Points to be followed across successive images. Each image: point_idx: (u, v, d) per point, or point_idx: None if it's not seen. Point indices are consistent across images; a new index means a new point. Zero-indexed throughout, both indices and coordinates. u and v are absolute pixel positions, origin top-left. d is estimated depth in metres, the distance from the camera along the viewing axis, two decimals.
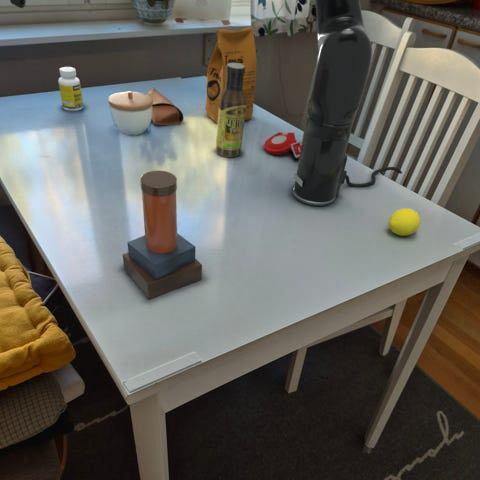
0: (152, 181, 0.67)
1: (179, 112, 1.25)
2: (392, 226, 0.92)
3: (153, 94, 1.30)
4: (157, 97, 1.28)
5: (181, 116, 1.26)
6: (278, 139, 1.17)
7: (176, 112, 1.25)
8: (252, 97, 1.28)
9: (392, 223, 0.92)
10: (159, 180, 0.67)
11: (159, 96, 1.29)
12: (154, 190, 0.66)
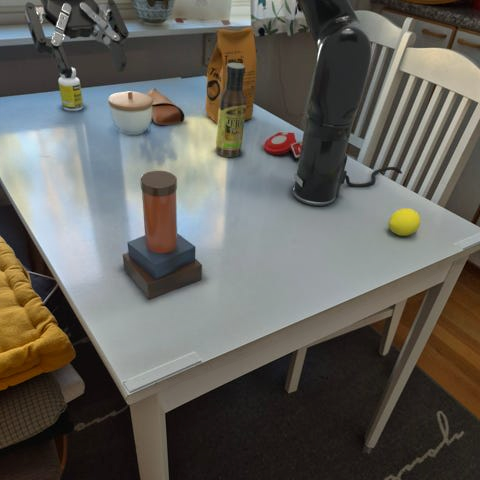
0: (152, 181, 0.67)
1: (180, 112, 1.25)
2: (392, 226, 0.92)
3: (154, 94, 1.30)
4: (158, 97, 1.29)
5: (182, 116, 1.26)
6: (278, 139, 1.17)
7: (177, 112, 1.25)
8: (252, 97, 1.28)
9: (392, 223, 0.92)
10: (159, 180, 0.67)
11: (160, 96, 1.29)
12: (154, 190, 0.66)
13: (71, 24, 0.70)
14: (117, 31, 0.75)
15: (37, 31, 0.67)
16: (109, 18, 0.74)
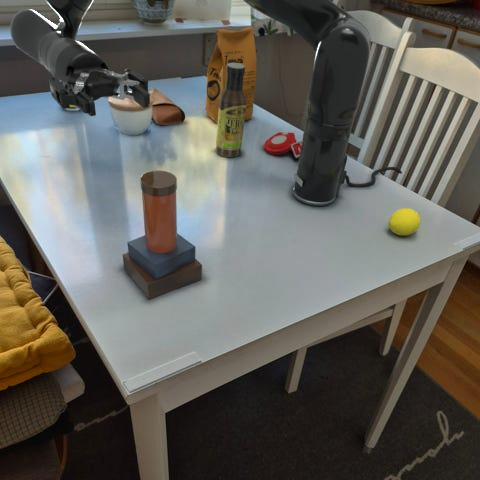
0: (152, 181, 0.67)
1: (181, 112, 1.25)
2: (392, 226, 0.92)
3: (154, 94, 1.30)
4: (158, 97, 1.29)
5: (183, 116, 1.26)
6: (278, 139, 1.17)
7: (178, 111, 1.25)
8: (252, 97, 1.28)
9: (392, 223, 0.92)
10: (159, 180, 0.67)
11: (160, 96, 1.29)
12: (154, 190, 0.66)
13: (91, 82, 0.71)
14: None
15: (59, 87, 0.68)
16: None
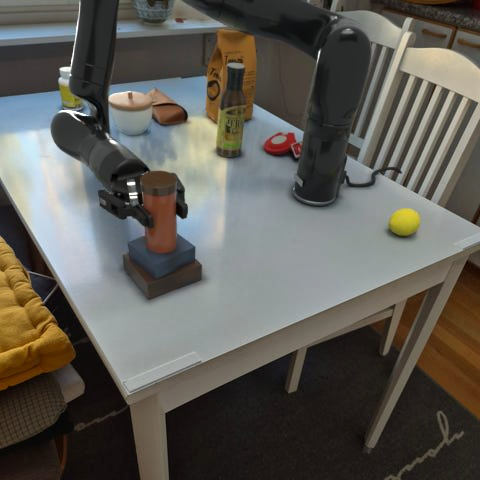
0: (152, 181, 0.67)
1: (184, 111, 1.26)
2: (392, 226, 0.92)
3: (156, 94, 1.30)
4: (160, 97, 1.29)
5: (186, 115, 1.26)
6: (278, 139, 1.17)
7: (181, 111, 1.25)
8: (252, 97, 1.28)
9: (392, 223, 0.92)
10: (159, 180, 0.67)
11: (162, 96, 1.29)
12: (154, 190, 0.66)
13: (136, 190, 0.72)
14: None
15: (115, 201, 0.70)
16: None
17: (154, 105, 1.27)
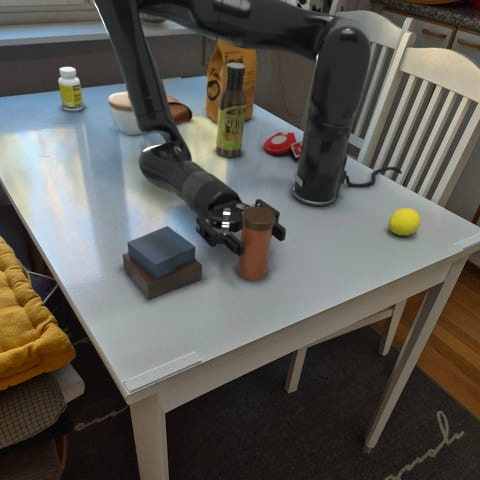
0: (254, 217, 0.74)
1: (188, 110, 1.26)
2: (392, 226, 0.92)
3: None
4: None
5: (190, 114, 1.27)
6: (278, 139, 1.17)
7: (185, 110, 1.26)
8: (252, 97, 1.28)
9: (392, 223, 0.92)
10: (260, 216, 0.74)
11: None
12: (257, 226, 0.73)
13: (233, 219, 0.79)
14: None
15: (209, 229, 0.76)
16: None
17: None
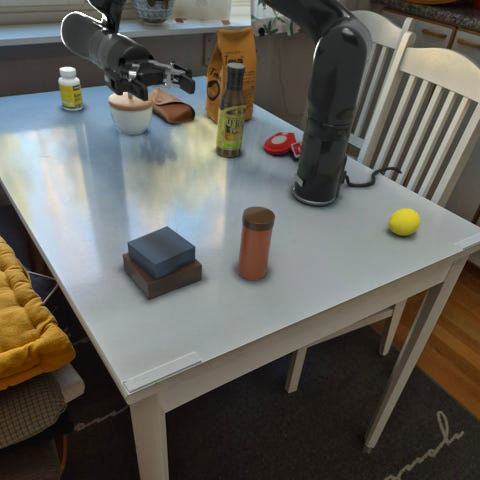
0: (254, 217, 0.74)
1: (191, 109, 1.27)
2: (392, 226, 0.92)
3: (160, 93, 1.30)
4: (165, 96, 1.30)
5: (193, 113, 1.28)
6: (278, 139, 1.17)
7: (189, 109, 1.27)
8: (252, 97, 1.28)
9: (392, 223, 0.92)
10: (260, 216, 0.74)
11: (167, 95, 1.30)
12: (257, 226, 0.73)
13: (142, 71, 0.78)
14: None
15: (114, 76, 0.75)
16: None
17: (160, 104, 1.28)
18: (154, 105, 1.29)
